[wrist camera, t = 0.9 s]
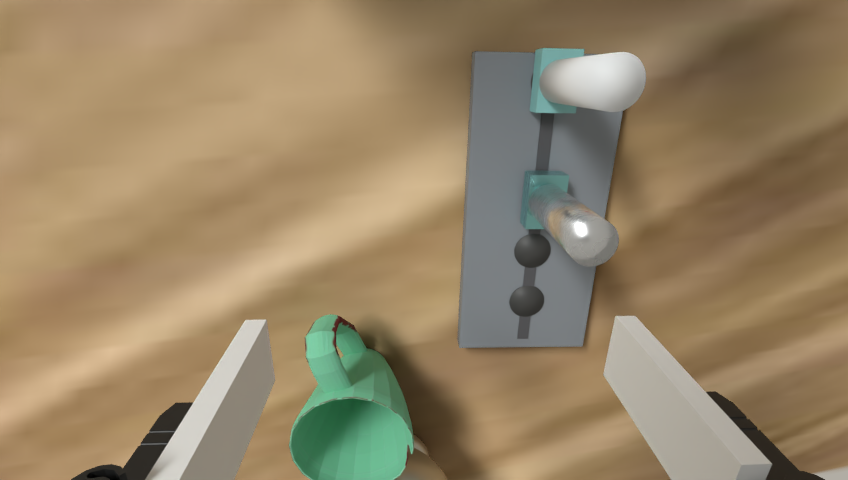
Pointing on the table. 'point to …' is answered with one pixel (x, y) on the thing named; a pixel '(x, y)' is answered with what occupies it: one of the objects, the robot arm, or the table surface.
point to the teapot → (421, 465)
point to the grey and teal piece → (504, 179)
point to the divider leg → (566, 218)
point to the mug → (350, 410)
